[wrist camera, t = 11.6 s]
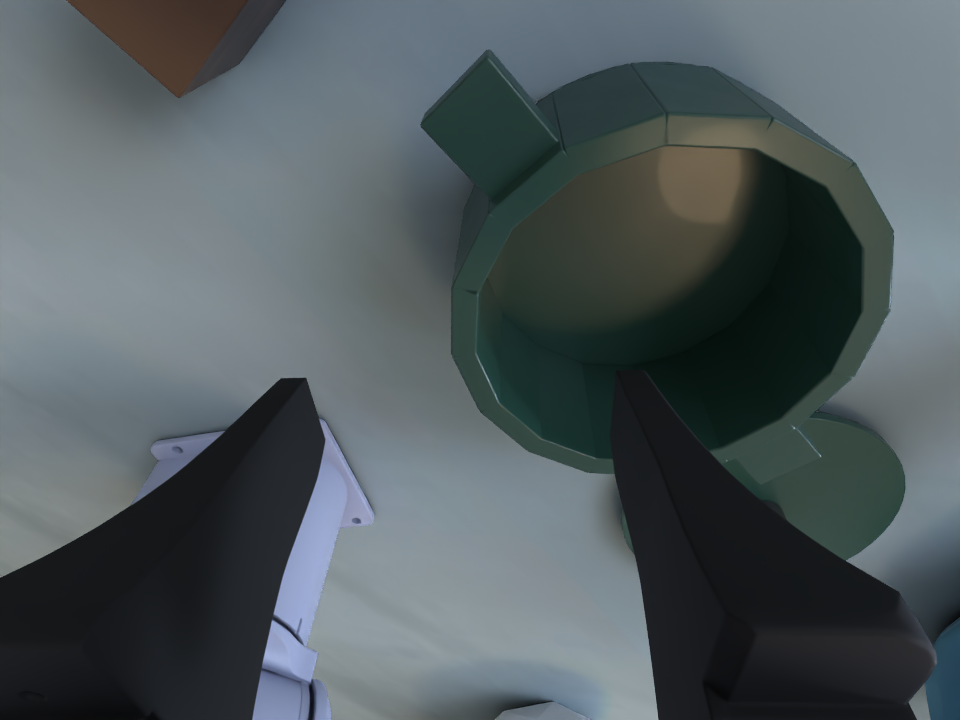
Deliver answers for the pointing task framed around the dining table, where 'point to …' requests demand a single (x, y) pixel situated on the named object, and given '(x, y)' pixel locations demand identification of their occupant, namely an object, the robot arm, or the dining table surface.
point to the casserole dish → (945, 676)
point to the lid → (833, 487)
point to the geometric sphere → (541, 713)
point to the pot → (657, 260)
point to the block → (182, 34)
